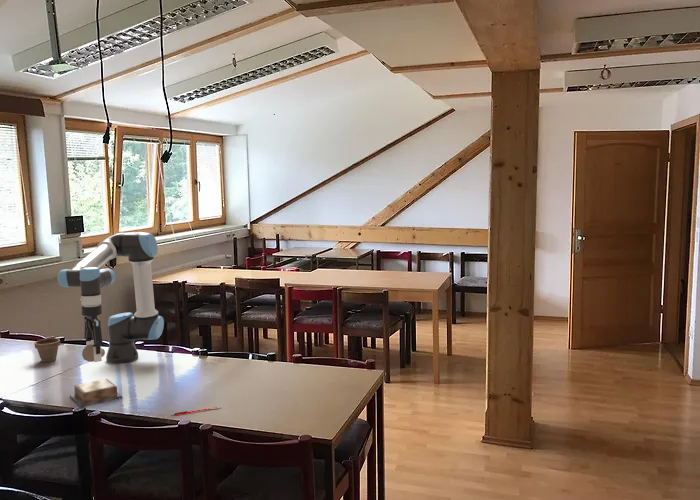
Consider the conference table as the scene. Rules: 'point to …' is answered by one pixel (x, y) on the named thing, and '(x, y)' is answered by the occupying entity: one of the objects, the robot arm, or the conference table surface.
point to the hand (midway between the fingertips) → (94, 358)
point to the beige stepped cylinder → (90, 353)
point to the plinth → (95, 393)
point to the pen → (188, 412)
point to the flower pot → (47, 349)
